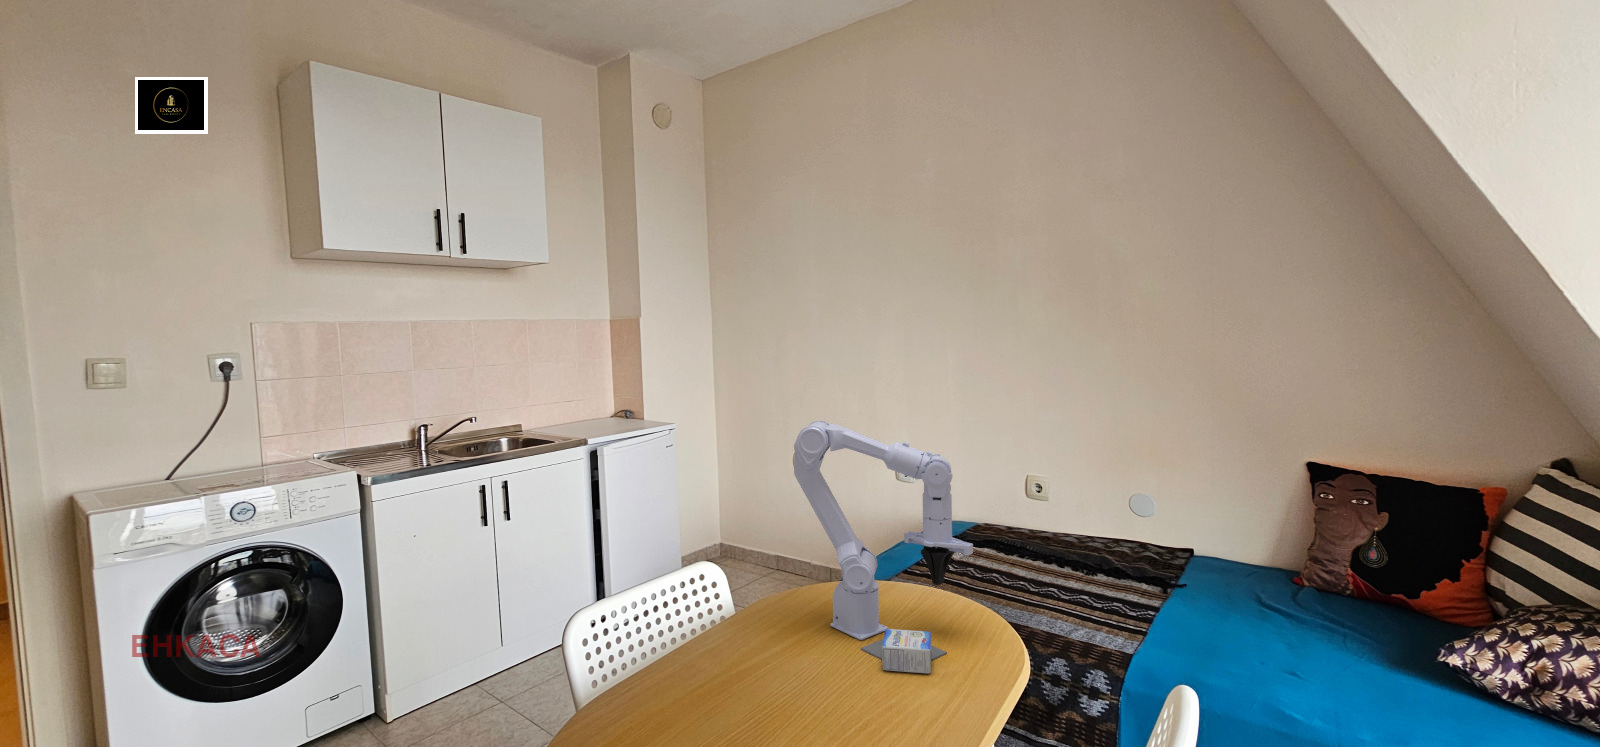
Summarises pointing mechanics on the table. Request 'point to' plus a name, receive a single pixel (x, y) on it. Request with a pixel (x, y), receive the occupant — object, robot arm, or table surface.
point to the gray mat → (876, 650)
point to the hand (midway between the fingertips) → (938, 583)
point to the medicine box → (906, 651)
